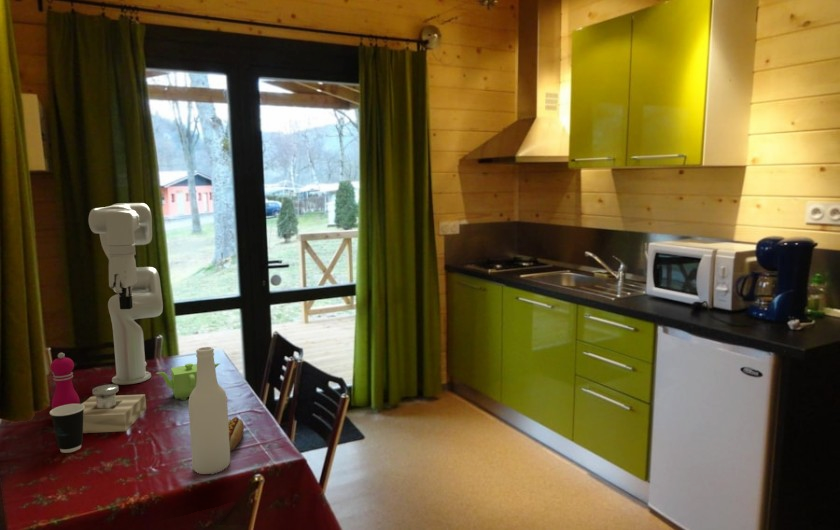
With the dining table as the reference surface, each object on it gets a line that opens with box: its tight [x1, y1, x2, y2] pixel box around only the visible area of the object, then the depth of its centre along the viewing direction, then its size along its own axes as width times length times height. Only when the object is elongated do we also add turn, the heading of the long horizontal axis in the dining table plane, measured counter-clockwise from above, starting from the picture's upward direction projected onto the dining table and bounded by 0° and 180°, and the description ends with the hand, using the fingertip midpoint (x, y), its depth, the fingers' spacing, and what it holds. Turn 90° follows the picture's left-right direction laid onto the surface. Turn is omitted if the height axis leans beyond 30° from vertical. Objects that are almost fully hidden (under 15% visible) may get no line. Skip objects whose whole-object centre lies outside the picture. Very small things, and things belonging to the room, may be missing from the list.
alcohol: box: [188, 346, 231, 475], centre depth 140 cm, size 9×9×30 cm
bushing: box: [91, 383, 119, 409], centre depth 170 cm, size 7×7×10 cm
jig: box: [81, 393, 147, 434], centre depth 170 cm, size 16×16×5 cm
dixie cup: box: [49, 403, 85, 454], centre depth 152 cm, size 8×8×11 cm
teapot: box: [156, 362, 221, 401], centre depth 192 cm, size 15×13×11 cm
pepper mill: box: [50, 352, 81, 409], centre depth 173 cm, size 7×7×20 cm
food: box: [228, 416, 245, 452], centre depth 156 cm, size 14×6×5 cm, turn 8°
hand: (126, 308), depth 181 cm, fingers closed
